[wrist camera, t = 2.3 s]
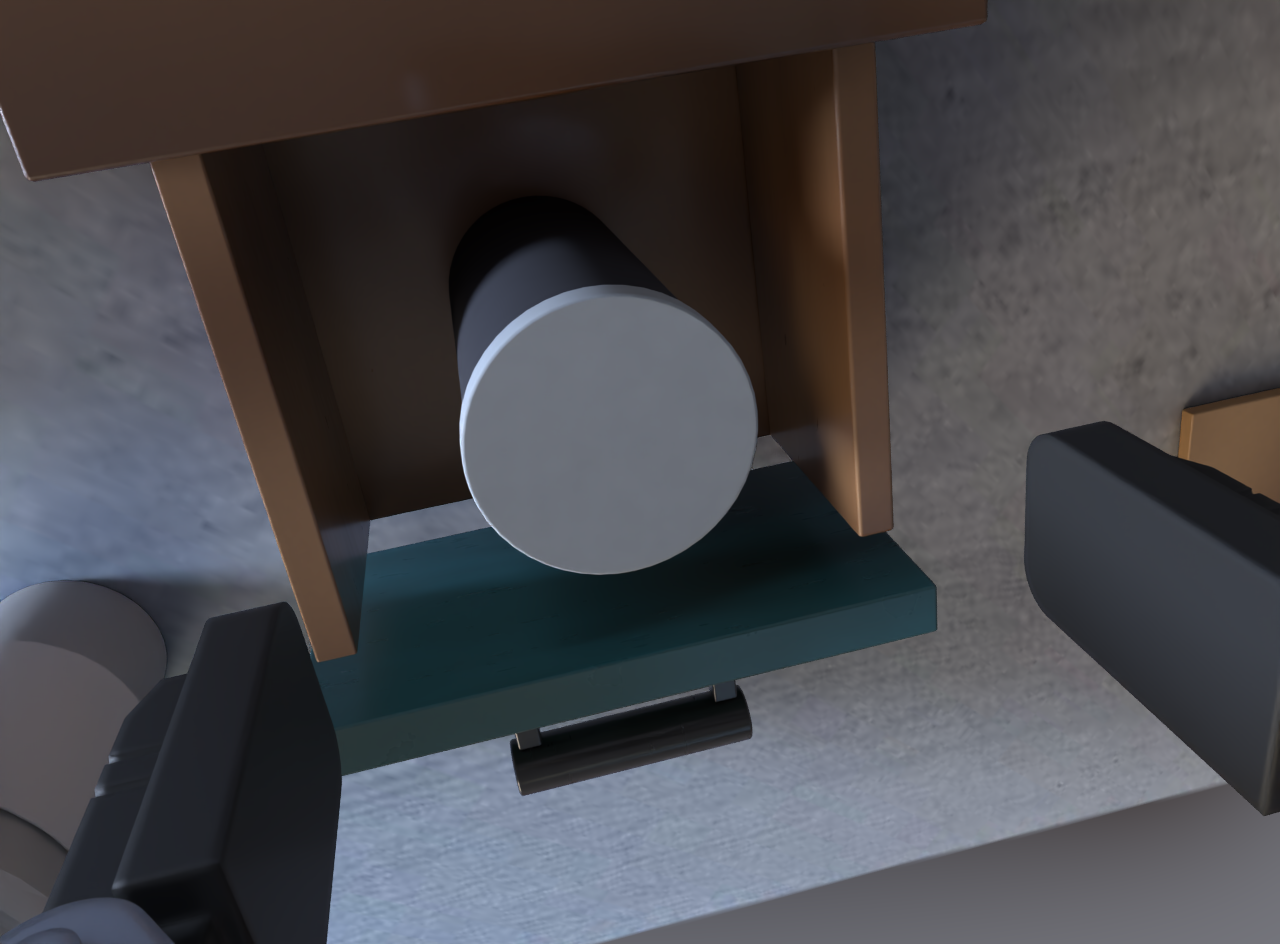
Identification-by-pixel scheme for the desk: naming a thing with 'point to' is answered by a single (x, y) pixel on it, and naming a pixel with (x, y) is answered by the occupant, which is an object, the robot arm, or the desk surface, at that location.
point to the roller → (590, 394)
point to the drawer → (431, 406)
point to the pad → (1237, 439)
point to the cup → (61, 721)
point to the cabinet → (369, 62)
